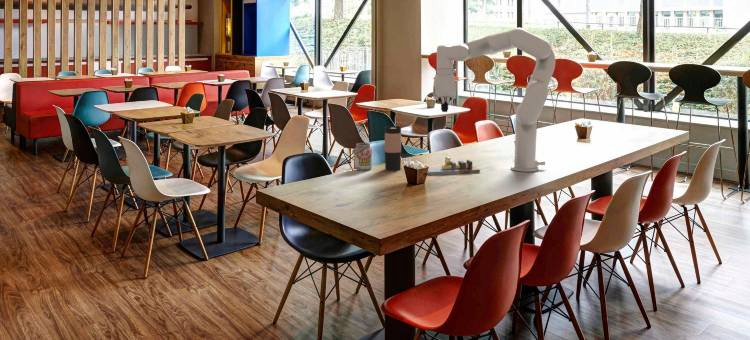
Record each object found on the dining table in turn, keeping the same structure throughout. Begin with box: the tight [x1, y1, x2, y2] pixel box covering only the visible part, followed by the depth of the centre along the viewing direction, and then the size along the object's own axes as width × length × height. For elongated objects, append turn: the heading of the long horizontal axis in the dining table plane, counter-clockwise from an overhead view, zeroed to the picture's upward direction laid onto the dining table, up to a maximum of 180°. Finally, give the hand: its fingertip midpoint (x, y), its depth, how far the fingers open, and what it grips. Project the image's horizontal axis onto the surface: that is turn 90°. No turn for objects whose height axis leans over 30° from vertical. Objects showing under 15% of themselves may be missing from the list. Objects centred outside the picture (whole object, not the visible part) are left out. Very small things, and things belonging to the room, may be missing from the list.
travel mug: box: [384, 125, 402, 172], centre depth 319 cm, size 8×8×20 cm
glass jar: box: [351, 142, 373, 171], centre depth 321 cm, size 9×8×12 cm
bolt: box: [441, 156, 468, 169], centre depth 314 cm, size 12×2×5 cm, turn 101°
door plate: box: [427, 160, 460, 176], centre depth 313 cm, size 14×9×5 cm, turn 101°
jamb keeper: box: [457, 159, 481, 175], centre depth 315 cm, size 10×9×5 cm
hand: (444, 111), depth 319 cm, fingers closed
